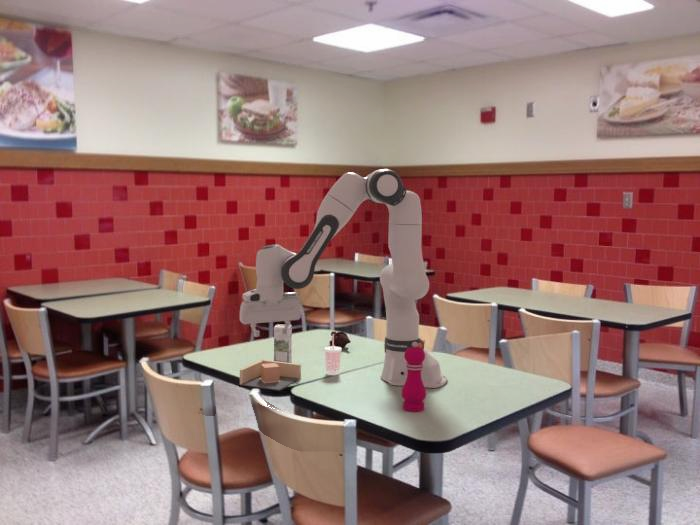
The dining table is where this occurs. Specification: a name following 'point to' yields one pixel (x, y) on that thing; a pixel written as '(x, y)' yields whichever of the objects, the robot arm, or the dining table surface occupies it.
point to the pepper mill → (414, 380)
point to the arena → (286, 377)
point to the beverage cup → (332, 359)
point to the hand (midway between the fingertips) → (270, 335)
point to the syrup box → (282, 344)
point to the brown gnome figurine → (340, 339)
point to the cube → (270, 372)
